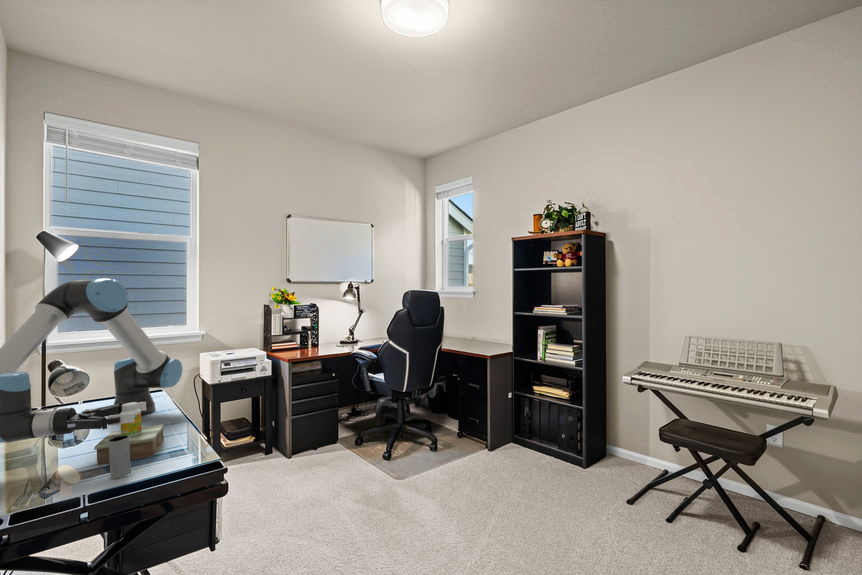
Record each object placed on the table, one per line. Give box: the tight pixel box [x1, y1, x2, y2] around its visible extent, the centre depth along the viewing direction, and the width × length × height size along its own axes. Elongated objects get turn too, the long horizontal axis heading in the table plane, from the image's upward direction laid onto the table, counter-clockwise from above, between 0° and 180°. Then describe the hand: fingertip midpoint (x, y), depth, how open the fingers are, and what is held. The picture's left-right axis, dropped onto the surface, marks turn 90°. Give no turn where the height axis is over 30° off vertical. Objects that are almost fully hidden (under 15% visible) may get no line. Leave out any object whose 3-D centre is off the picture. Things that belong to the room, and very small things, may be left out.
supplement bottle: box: [119, 402, 143, 437], centre depth 136 cm, size 5×5×10 cm
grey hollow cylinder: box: [109, 435, 132, 480], centre depth 119 cm, size 4×4×10 cm
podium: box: [93, 423, 165, 466], centre depth 136 cm, size 15×15×6 cm
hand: (140, 411), depth 137 cm, fingers open, 13 cm apart
